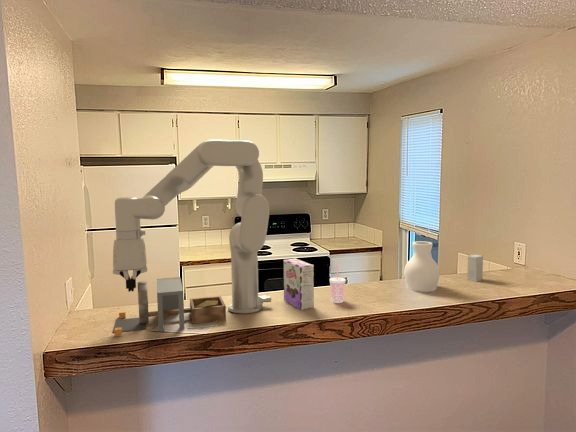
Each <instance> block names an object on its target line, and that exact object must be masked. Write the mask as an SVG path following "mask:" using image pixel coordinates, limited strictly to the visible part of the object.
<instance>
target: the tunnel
mask: <svg viewBox="0 0 576 432" xmlns="http://www.w3.org/2000/svg"><path fill="white" fill-rule="evenodd" d="M156 297H157V298H156V302H157V311H158V316H157V321H158V322H157V325H158V326H157V327H158V332H164V315H163V310H174V309H179V314H178V318H179V319H178V320H179V321H178V322H179V324H178V325H179V330H185V313H184V307H185V306H184V305H185V304H184V289H183V283H182V278H181V277H180V276H179V277H178V276H177V277H168V278H167V277H165V278H157V279H156ZM126 313H127V311H126V310H119V311H118V316H119V317H118V318H119V319H115V322H114V325H113V329H112V332H111V333H112V334H114V337H122V335H123V332H125V333H126V332H132V331H141V330H146V329H147V323H139V317H131V318H126V317H127V315H126ZM217 326H220V324H219V323H215V324H206V325H204V324H203V325H196V326H195V325H194V326H188V327H187V330H191V329H199V328H208V327H217Z"/></svg>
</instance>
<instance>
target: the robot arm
mask: <svg viewBox="0 0 576 432" xmlns="http://www.w3.org/2000/svg"><path fill="white" fill-rule="evenodd" d="M259 157H260V150H259V148H258V146H257V144H255V143H254V142H253V141H250V140H237V139H235V140H229V139H224V140H223V139H208V140H206V141H202V142H200V143H199V144H198V145H197V146H196V147H195V148H193V150H191V152H190V153H188V155H186V157H184V158H183V159H182V160H181V161H179V163H178V164H177V165H176V166H175V167H173V168H172V169H171V170H170V171H169V172H168V173H167V174H166V175H165V176H164V177H163V178H162V179H161V180H159V182H158V183H157V184H156V185H154V186H153V187H152V188H151V189H150V190H149V191H147V193H145V195H144V196H143V197H140V198H139V197H134V196H124V197H123V196H122V197H117V198H116V199H115V200H114V216H115V217H114V218H115V219H114V220H115V239H113V245H112V246H113V248H112V249H113V250H112V268H113V269H112V274H113V275H116V276H117V275H119V276H121V277H122V278H123V279H124V280H125V289H127V292H134V291H135V289H136V288H137V282H136V281H137V280H136V279H137V278H138V277H139V275H141V274H143V273H146V272H148V266H147V253H146V251H147V250H146V244H145V239H144V238H143V236H146V230H142V229H141V219H142V220H152V221H153V220H157V219H159V218H161V217H162V216H163V215H164V214H165V211H166V206H167V205H168V204H169V203H170V202H171V201H172V200H174V199H175V198H176V197H177V196H178V195H180V194H182V193H183V192H186V191H188V190H189V189H191V188H192V187H193V186H195V185H196V183H198V181H199V180H201V179H202V178H203V177H204V176H205V175H206V174H207V173H208V172H209V171H210V170H211V169H212V168H214V167H215V166H216V167H235V168H236V170H237V172H238V188H237V194H236V196H237V197H236V201H235V211H236V214H238V216H240V219H241V220H240V222H237V223H235V224H234V225H233V226H232V227H231V229H230V231H229V234H228V235H229V236H228V240H229V248H230V249H229V250H230V263H231V300H232V301H231V302H230V303H229V304H228V305H227V309H228V311H229V312H231V313H235V314H252V313H257V312H259V311H261V310H262V309H263V308H264V306H263V304H264V303H271V302H272V297H271V296H267V295H262V296H261V295H259V262H258V261H259V260H258V259H259V258H258V257H259V256H258V252H260V250H261V249H262V248H263V247H264V245H265V243H266V238H267V233H268V226H269V219H270V204H269V202H268V199H267V198H266V197H265V196H264V195H263V194H262V193H263V183H264V182H263V181H264V173H263V167H262V165H261V163H260V161H259ZM129 271H132V275H131V276H130V274H129Z"/></svg>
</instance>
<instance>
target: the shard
mask: <svg viewBox="0 0 576 432" xmlns="http://www.w3.org/2000/svg"><path fill="white" fill-rule="evenodd" d="M217 304H218V301H205V302H203V303H201V304H199V305H197V306H196V307H195V308H202V307H212V306H217Z"/></svg>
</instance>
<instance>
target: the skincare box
mask: <svg viewBox="0 0 576 432" xmlns="http://www.w3.org/2000/svg"><path fill="white" fill-rule="evenodd" d="M483 267H484V256H483V255H481V254H475V253H474V254H471V255H468V256H467V268H466V269H467V273H466V275H467V279H466V280H467V281H470V282H476V283H477V282H480V281H482V280H483V277H484V276H483V273H484V272H483V271H484V269H483Z"/></svg>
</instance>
